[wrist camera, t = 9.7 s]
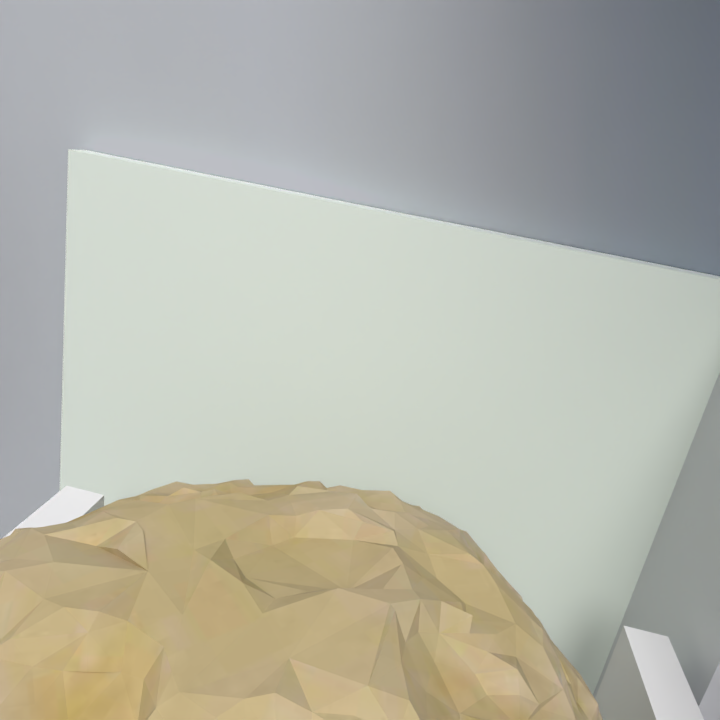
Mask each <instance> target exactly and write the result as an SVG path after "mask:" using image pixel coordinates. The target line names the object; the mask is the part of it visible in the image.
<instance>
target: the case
mask: <svg viewBox="0 0 720 720" xmlns="http://www.w3.org/2000/svg"><path fill="white" fill-rule="evenodd" d="M623 626H628V627H632V628H636V629H640V630H644V631H647V632H651V633H655V634H659V635H663V636H667V637H668V638H669V640H670V642H671V645H672V647H673V649H674V651H675V654H676V656H677V658H678V661H679V663H680V665H681V668H682V670H683V672H684V675H685V677H686V679H687V681H688V684H689V686H690V688H691V691H692V693H693V695H694V698H695V700H696V702H697V705H698V707H699V709H700V712H701V714H702V716H703V718H704V720H720V372H719V375H718V378H717V380H716V383H715V385H714V388H713V390H712V393H711V395H710V398H709V400H708V403H707V406H706V408H705V411H704V413H703V416H702V418H701V421H700V423H699V426H698V429H697V431H696V434H695V436H694V439H693V441H692V444H691V446H690V449H689V451H688V454H687V457H686V459H685V462H684V464H683V467H682V469H681V472H680V474H679V477H678V479H677V482H676V485H675V487H674V490H673V492H672V495H671V497H670V500H669V502H668V505H667V507H666V510H665V513H664V515H663V518H662V520H661V523H660V525H659V528H658V530H657V533H656V535H655V538H654V541H653V543H652V546H651V548H650V551H649V553H648V556H647V558H646V561H645V563H644V566H643V569H642V571H641V574H640V576H639V579H638V581H637V584H636V586H635V589H634V591H633V594H632V597H631V599H630V602H629V604H628V607H627V609H626V612H625V614H624V617H623V619H622V622H621V625H620V627H619V630H618V632H617V635H616V637H615V640H614V642H613V645H612V647H611V650H610V653H609V655H608V658H607V660H606V663H605V665H604V668H603V670H602V673H601V675H600V678H599V681H598V683H597V686H596V688H595V691H594V693H593V696H594V698H595V697H596V695H597V692H598V689H599V687H600V684H601V682H602V679H603V677H604V674H605V672H606V669H607V667H608V664H609V661H610V659H611V656H612V654H613V651H614V649H615V646H616V644H617V641H618V638H619V636H620V633H621V631H622V628H623Z"/></svg>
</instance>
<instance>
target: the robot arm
mask: <svg viewBox="0 0 720 720" xmlns="http://www.w3.org/2000/svg"><path fill="white" fill-rule="evenodd" d="M103 506H104V495H102V494H98V493H94V492H90V491H86V490H82V489H78V488H74V487H70V486H65V487H64V488H63V489H62V490H61V491H59V492H58V493H57V494H56V495H55V496H53V497H52V498H51V499H50V500H48V501H47V502H46V503H45V504H44V505H42V506H41V507H40V508H39V509H37V510H36V511H35V512H34V513H33V514H31V515H30V516H29V517H28V518H27V519H25V520H24V521H23V522H22V523H20V524H19V525H18V526H17V527H16V528H14V529H13V530H12V531H11V532H9V533H8V534H7V535H6V536H5V537H7V536H10V535H11V534H12V532H13V531H14V530H15V529H18V528H29V527H31V528H37V527H45V526H50V525H56V524H61V523H66V522H69V521H71V520H73V519H76V518H78V517H80V516H83V515H85V514H88V513H90V512H92V511H94V510H97V509H99V508H101V507H103ZM5 537H3V538H5ZM595 700H596V701H597V703H598V706H599V712H600V714H601V716H602V719H603V720H704V718H703V716H702V714H701V712H700V709H699V707H698V705H697V702H696V700H695V698H694V695H693V693H692V691H691V688H690V686H689V684H688V681H687V679H686V677H685V675H684V672H683V670H682V668H681V665H680V663H679V661H678V658H677V656H676V654H675V651H674V649H673V647H672V645H671V642H670V640H669V638H668V637H667V636H663V635H659V634H655V633H651V632H647V631H644V630H640V629H636V628H632V627H628V626H623V628H622V631H621V633H620V636H619V638H618V641H617V644H616V646H615V649H614V651H613V654H612V656H611V659H610V661H609V664H608V667H607V669H606V672H605V674H604V677H603V679H602V682H601V684H600V687H599V689H598V692H597V695H596V697H595Z"/></svg>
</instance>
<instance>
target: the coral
mask: <svg viewBox="0 0 720 720" xmlns="http://www.w3.org/2000/svg"><path fill="white" fill-rule="evenodd" d="M0 720H603V719H602V716H601V714H600V712H599V706H598V703H597V701H596V700H595V698H594V696H593V695H592V693H591V691H590V690H589V688H588V686H587V685H586V683H585V681H584V680H583V678H582V677H581V675H580V673H579V672H578V671H577V670H576V669H575V668H574V667H573V665H572V664H571V663H570V662H569V661H568V660H567V658H566V657H565V656H564V655H563V654H562V652H561V651H560V650H559V649H558V648H557V646H556V645H555V644H554V643H553V642H552V640H551V639H550V637H549V635H548V634H547V632H546V630H545V628H544V627H543V625H542V623H541V622H540V620H539V619H538V618H537V617H536V616H535V614H534V613H533V611H532V610H531V609H530V608H529V607H528V606H527V605H526V604H525V603H524V602H523V599H522V597H521V596H520V594H519V593H518V592H517V591H516V590H515V589H514V588H513V587H512V586H511V585H510V584H509V582H508V581H507V580H506V579H505V578H504V577H503V576H502V575H501V573H500V572H499V571H498V570H497V569H496V568H495V566H494V565H493V564H492V562H491V561H490V560H489V558H488V557H487V555H486V554H485V553H484V552H483V551H482V550H481V549H480V547H479V546H478V545H477V544H476V543H475V541H474V540H473V539H472V538H471V536H470V535H469V534H468V533H467V532H466V531H463V530H461V529H458V528H457V527H456V526H454V525H452V524H451V523H449V522H447V521H446V520H444V519H442V518H441V517H439V516H437V515H434V514H432V513H430V512H427V511H425V510H423V509H422V508H421V507H420V506H415V505H410V504H408V503H406V502H403V501H402V500H401V499H399V498H398V497H397V496H396V495H394V494H393V493H392V492H391V491H379V490H359V489H355V488H350V487H346V486H341V485H339V486H334V487H329V488H326V487H325V486H324V485H323V484H322V483H321V482H320V481H306V482H302V483H299V484H295V485H253V483H252V482H251V481H250V480H249V479H244V480H232V481H227V482H222V483H218V484H197V485H193V484H187V483H182V482H177V481H176V482H173V483H170V484H167V485H164V486H161V487H158V488H155V489H152V490H149V491H147V492H145V493H142V494H140V495H137V496H134V497H129V498H124V499H120V500H117V501H115V502H112V503H110V504H108V505H106V506H103V507H101V508H99V509H97V510H94V511H92V512H90V513H88V514H85V515H83V516H80V517H78V518H76V519H73V520H71V521H69V522H66V523H61V524H56V525H50V526H45V527H37V528H31V527H29V528H18V529H15V530H14V531H13V532H12V534H11V535H10V536H7V537H5V538H2V539H0Z"/></svg>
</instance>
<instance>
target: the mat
mask: <svg viewBox="0 0 720 720" xmlns="http://www.w3.org/2000/svg"><path fill="white" fill-rule="evenodd" d="M719 372H720V276H716V275H711V274H706V273H700V272H695V271H690V270H685V269H680V268H675V267H670V266H665V265H660V264H655V263H650V262H645V261H640V260H635V259H630V258H625V257H620V256H615V255H610V254H605V253H600V252H595V251H590V250H585V249H580V248H575V247H570V246H565V245H560V244H555V243H550V242H545V241H540V240H535V239H530V238H525V237H520V236H515V235H510V234H505V233H500V232H495V231H490V230H485V229H480V228H475V227H470V226H465V225H460V224H455V223H450V222H445V221H439V220H434V219H429V218H424V217H419V216H414V215H409V214H404V213H399V212H394V211H389V210H384V209H379V208H374V207H369V206H364V205H359V204H354V203H349V202H344V201H339V200H334V199H329V198H324V197H319V196H314V195H309V194H304V193H299V192H294V191H289V190H284V189H279V188H274V187H269V186H264V185H259V184H254V183H249V182H244V181H239V180H234V179H229V178H224V177H219V176H214V175H209V174H204V173H199V172H194V171H189V170H184V169H178V168H173V167H168V166H163V165H158V164H153V163H148V162H143V161H138V160H133V159H128V158H123V157H118V156H113V155H108V154H103V153H98V152H93V151H88V150H68V180H67V219H66V258H65V298H64V337H63V377H62V416H61V455H60V491H61V490H62V489H63V488H64V487H65V486H70V487H74V488H78V489H82V490H86V491H90V492H94V493H98V494H102V495H104V506H106V505H108V504H110V503H112V502H115V501H117V500H120V499H124V498H129V497H134V496H137V495H140V494H142V493H145V492H147V491H149V490H152V489H155V488H158V487H161V486H164V485H167V484H170V483H173V482H176V481H177V482H182V483H187V484H193V485H197V484H218V483H222V482H227V481H232V480H244V479H249V480H250V481H251V482H252V483H253V485H295V484H299V483H302V482H306V481H320V482H321V483H322V484H323V485H324V486H325V487H326V488H329V487H334V486H339V485H341V486H346V487H350V488H355V489H359V490H379V491H391V492H392V493H393V494H394V495H396V496H397V497H398V498H399V499H401V500H402V501H403V502H406V503H408V504H410V505H415V506H420V507H421V508H422V509H423V510H425V511H427V512H430V513H432V514H434V515H437V516H439V517H441V518H442V519H444V520H446V521H447V522H449V523H451V524H452V525H454V526H456V527H457V528H458V529H461V530H463V531H466V532H467V533H468V534H469V535H470V536H471V538H472V539H473V540H474V541H475V543H476V544H477V545H478V546H479V547H480V549H481V550H482V551H483V552H484V553H485V554H486V555H487V557H488V558H489V560H490V561H491V562H492V564H493V565H494V566H495V568H496V569H497V570H498V571H499V572H500V573H501V575H502V576H503V577H504V578H505V579H506V580H507V581H508V582H509V584H510V585H511V586H512V587H513V588H514V589H515V590H516V591H517V592H518V593H519V594H520V596H521V597H522V599H523V602H524V603H525V604H526V605H527V606H528V607H529V608H530V609H531V610H532V611H533V613H534V614H535V616H536V617H537V618H538V619H539V620H540V622H541V623H542V625H543V627H544V628H545V630H546V632H547V634H548V635H549V637H550V639H551V640H552V642H553V643H554V644H555V645H556V646H557V648H558V649H559V650H560V651H561V652H562V654H563V655H564V656H565V657H566V658H567V660H568V661H569V662H570V663H571V664H572V665H573V667H574V668H575V669H576V670H577V671H578V672H579V673H580V675H581V677H582V678H583V680H584V681H585V683H586V685H587V686H588V688H589V690H590V691H591V693H592V695H593V693H594V691H595V688H596V686H597V683H598V681H599V678H600V675H601V673H602V670H603V668H604V665H605V663H606V660H607V658H608V655H609V653H610V650H611V647H612V645H613V642H614V640H615V637H616V635H617V632H618V630H619V627H620V625H621V622H622V619H623V617H624V614H625V612H626V609H627V607H628V604H629V602H630V599H631V597H632V594H633V591H634V589H635V586H636V584H637V581H638V579H639V576H640V574H641V571H642V569H643V566H644V563H645V561H646V558H647V556H648V553H649V551H650V548H651V546H652V543H653V541H654V538H655V535H656V533H657V530H658V528H659V525H660V523H661V520H662V518H663V515H664V513H665V510H666V507H667V505H668V502H669V500H670V497H671V495H672V492H673V490H674V487H675V485H676V482H677V479H678V477H679V474H680V472H681V469H682V467H683V464H684V462H685V459H686V457H687V454H688V451H689V449H690V446H691V444H692V441H693V439H694V436H695V434H696V431H697V429H698V426H699V423H700V421H701V418H702V416H703V413H704V411H705V408H706V406H707V403H708V400H709V398H710V395H711V393H712V390H713V388H714V385H715V383H716V380H717V378H718V375H719Z"/></svg>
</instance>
